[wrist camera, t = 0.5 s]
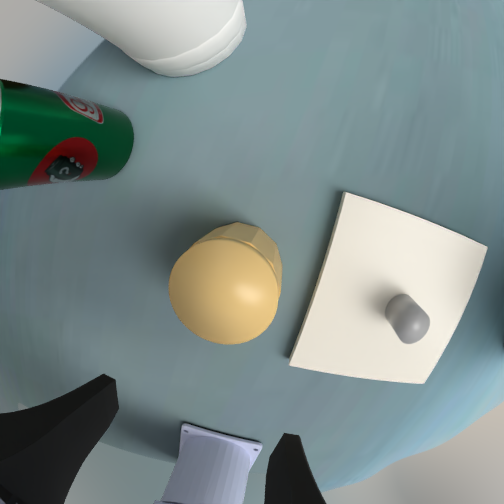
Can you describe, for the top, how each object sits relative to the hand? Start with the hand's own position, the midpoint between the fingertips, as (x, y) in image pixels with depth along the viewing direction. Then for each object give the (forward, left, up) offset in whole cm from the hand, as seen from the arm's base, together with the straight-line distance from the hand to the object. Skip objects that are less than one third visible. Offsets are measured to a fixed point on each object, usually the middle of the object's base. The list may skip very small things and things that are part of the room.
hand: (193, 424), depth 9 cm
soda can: (+10, +12, -10) cm, 18 cm away
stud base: (+4, -10, -9) cm, 15 cm away
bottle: (+19, +8, -10) cm, 23 cm away
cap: (+4, +1, -9) cm, 10 cm away
